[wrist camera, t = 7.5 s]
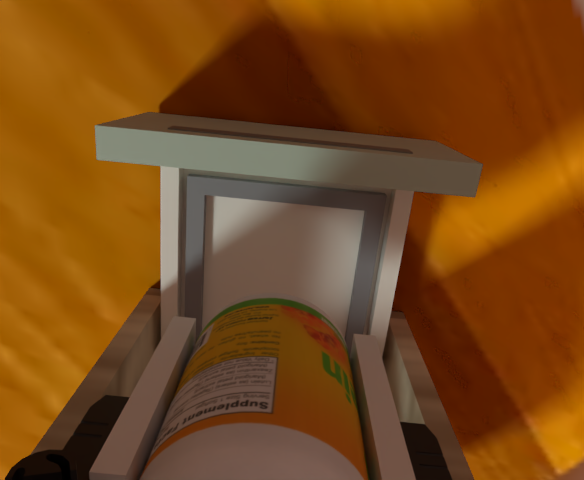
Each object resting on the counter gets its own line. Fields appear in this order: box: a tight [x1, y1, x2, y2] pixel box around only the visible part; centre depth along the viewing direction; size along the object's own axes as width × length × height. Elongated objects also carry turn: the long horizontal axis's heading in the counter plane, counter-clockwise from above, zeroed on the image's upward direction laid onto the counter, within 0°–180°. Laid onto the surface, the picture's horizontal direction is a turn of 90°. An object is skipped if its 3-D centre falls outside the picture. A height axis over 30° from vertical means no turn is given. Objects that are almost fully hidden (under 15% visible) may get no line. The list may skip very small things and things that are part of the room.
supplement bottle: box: [140, 293, 370, 480], centre depth 12 cm, size 5×5×10 cm
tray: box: [95, 112, 483, 358], centre depth 21 cm, size 14×14×6 cm
